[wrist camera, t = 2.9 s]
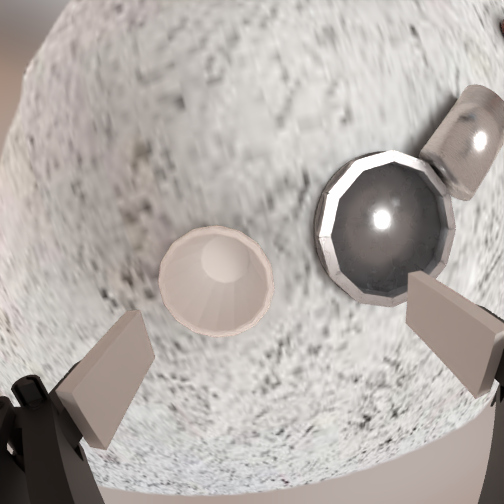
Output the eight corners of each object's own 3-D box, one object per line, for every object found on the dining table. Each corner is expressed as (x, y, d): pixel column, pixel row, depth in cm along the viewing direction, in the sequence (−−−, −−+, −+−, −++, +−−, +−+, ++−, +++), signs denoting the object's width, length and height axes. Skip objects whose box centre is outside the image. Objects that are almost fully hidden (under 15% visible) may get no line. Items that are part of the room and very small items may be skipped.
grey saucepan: (380, 324, 35) (405, 356, 27) (281, 235, 32) (288, 252, 24) (501, 161, 29) (537, 162, 21) (428, 63, 26) (461, 44, 19)
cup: (272, 215, 32) (277, 228, 23) (267, 300, 34) (271, 340, 25) (182, 213, 32) (154, 225, 23) (184, 296, 34) (162, 333, 25)
